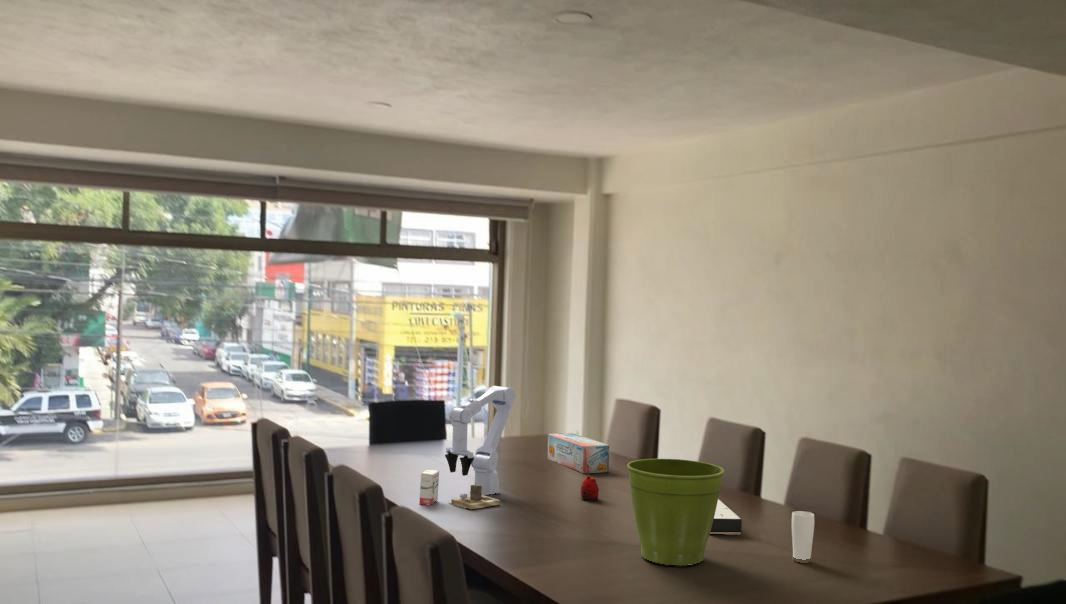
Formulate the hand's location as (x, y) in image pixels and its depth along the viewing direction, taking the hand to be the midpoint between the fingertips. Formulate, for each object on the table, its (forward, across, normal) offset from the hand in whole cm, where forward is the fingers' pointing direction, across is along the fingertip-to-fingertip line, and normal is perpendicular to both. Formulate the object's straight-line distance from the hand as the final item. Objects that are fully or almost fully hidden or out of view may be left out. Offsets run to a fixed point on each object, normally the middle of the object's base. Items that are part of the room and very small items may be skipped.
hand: (458, 473), depth 358 cm
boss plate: (+10, +9, -1) cm, 13 cm away
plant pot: (+10, +103, +2) cm, 104 cm away
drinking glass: (+10, +130, +32) cm, 134 cm away
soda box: (+10, -22, +90) cm, 93 cm away
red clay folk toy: (+10, +31, +42) cm, 53 cm away
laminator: (+11, +84, +50) cm, 98 cm away
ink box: (+10, -2, -13) cm, 16 cm away
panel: (+10, +12, -1) cm, 15 cm away
